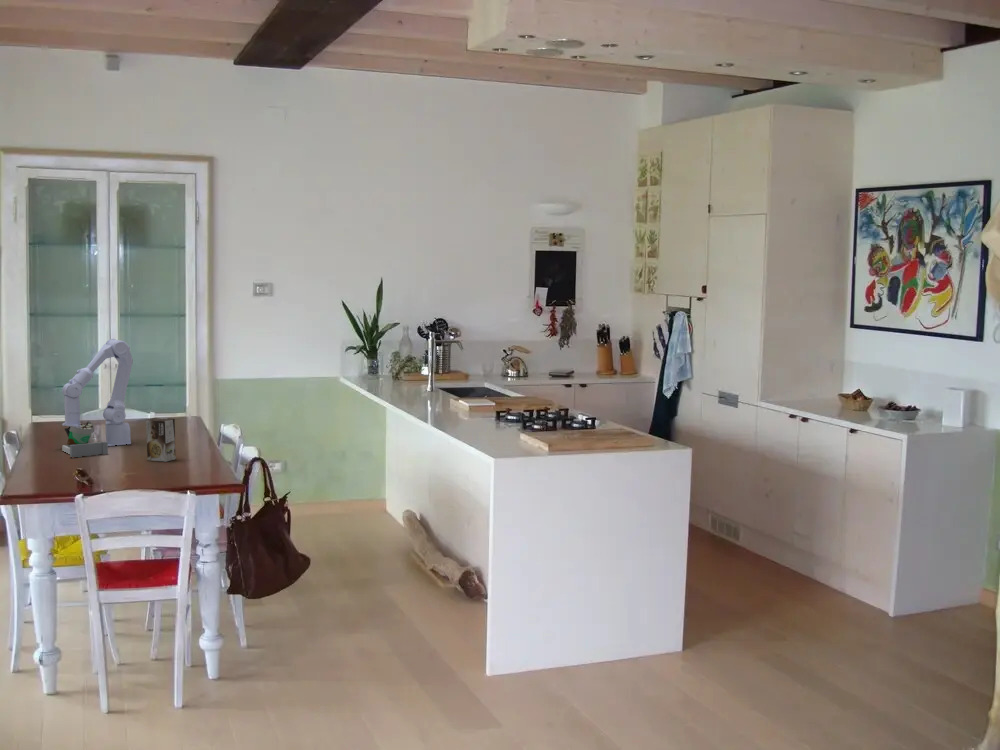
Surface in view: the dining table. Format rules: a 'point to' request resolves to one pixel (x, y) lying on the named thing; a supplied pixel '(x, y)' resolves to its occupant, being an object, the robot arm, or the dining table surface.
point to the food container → (80, 434)
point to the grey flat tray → (86, 449)
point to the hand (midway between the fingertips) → (73, 445)
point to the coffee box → (160, 439)
